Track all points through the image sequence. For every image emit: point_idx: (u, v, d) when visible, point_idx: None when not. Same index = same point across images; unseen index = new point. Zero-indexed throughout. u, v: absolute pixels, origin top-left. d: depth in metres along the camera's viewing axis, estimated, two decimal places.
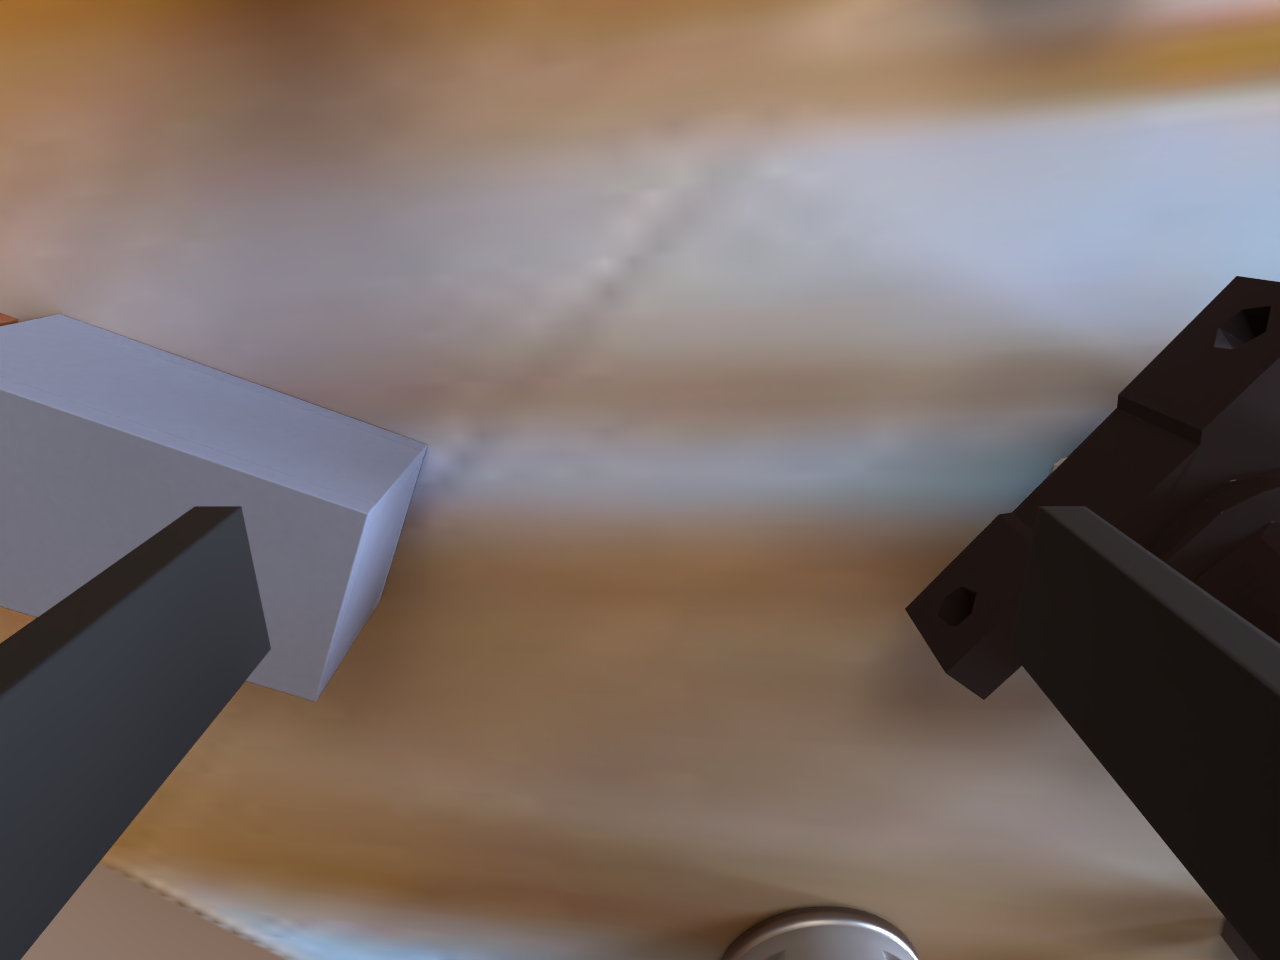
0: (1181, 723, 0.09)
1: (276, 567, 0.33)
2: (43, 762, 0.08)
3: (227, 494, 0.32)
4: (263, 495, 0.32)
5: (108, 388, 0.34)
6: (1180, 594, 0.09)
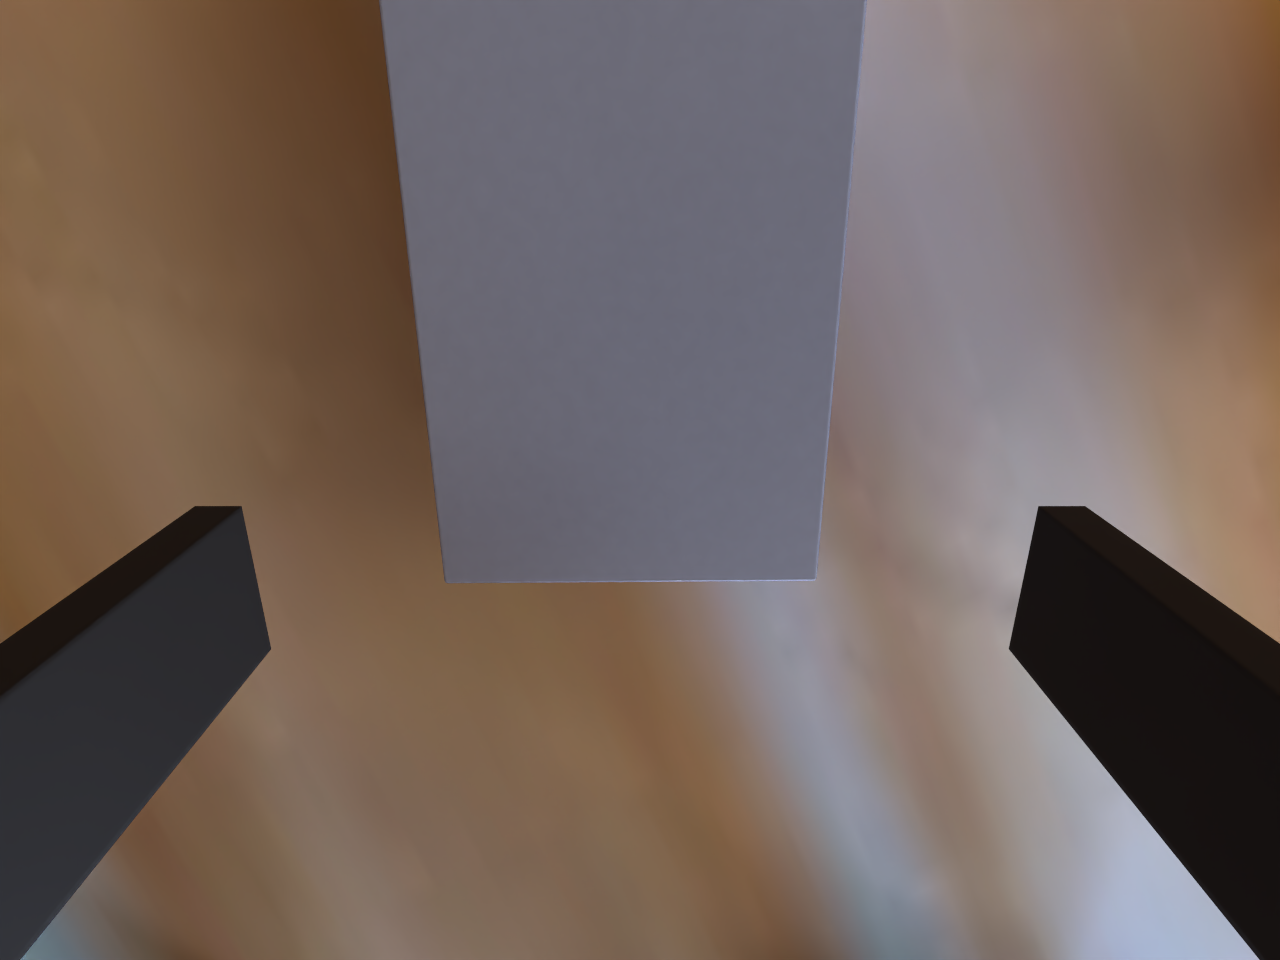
0: (1181, 723, 0.09)
1: (676, 476, 0.20)
2: (43, 762, 0.08)
3: (784, 380, 0.19)
4: (799, 432, 0.20)
5: None
6: (1180, 594, 0.09)
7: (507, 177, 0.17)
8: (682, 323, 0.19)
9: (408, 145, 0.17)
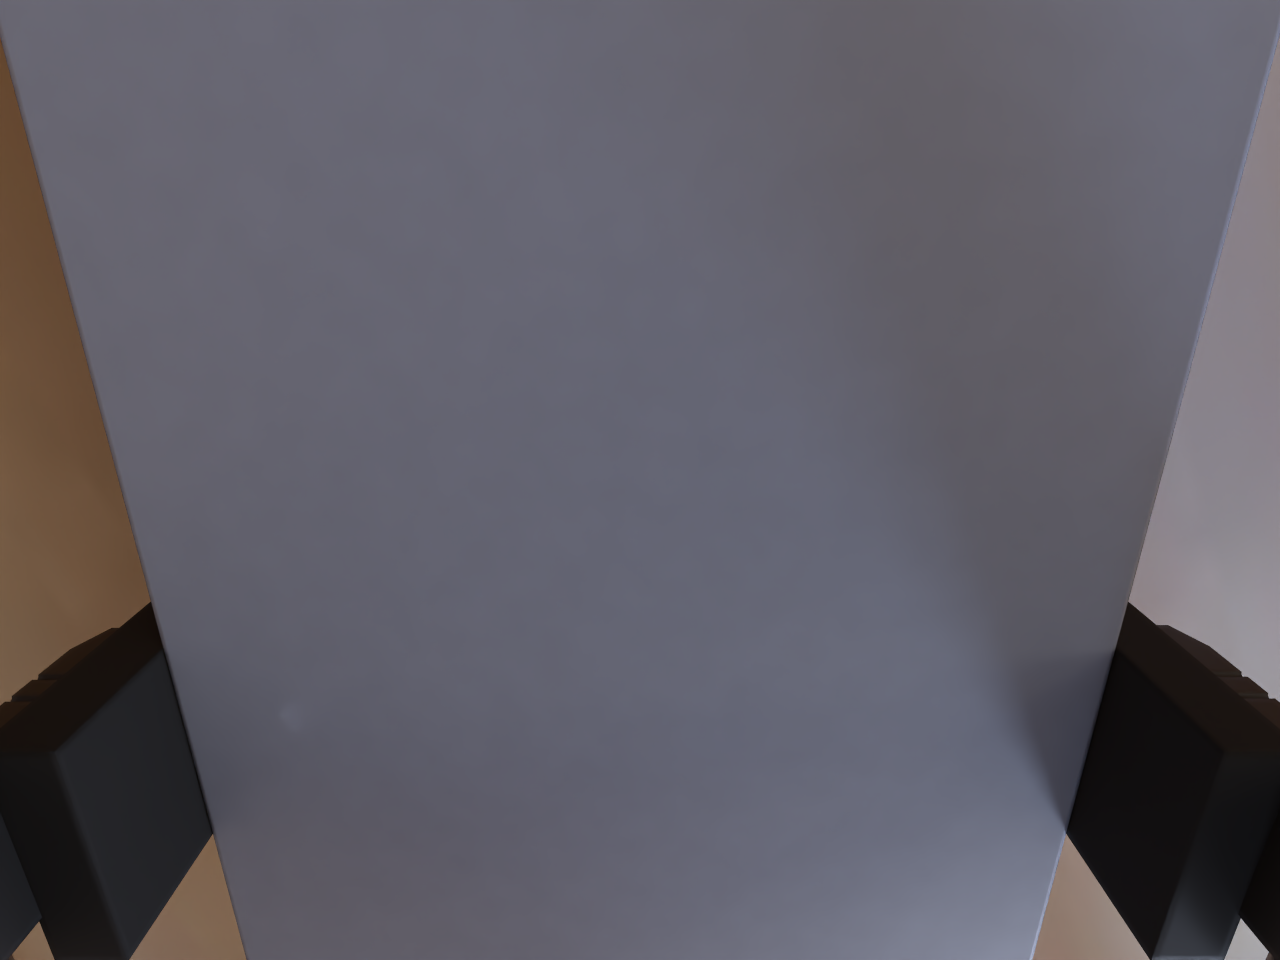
0: None
1: (744, 829, 0.09)
2: None
3: (1002, 647, 0.08)
4: (1022, 750, 0.09)
5: None
6: None
7: (324, 168, 0.07)
8: (773, 525, 0.08)
9: (45, 78, 0.06)
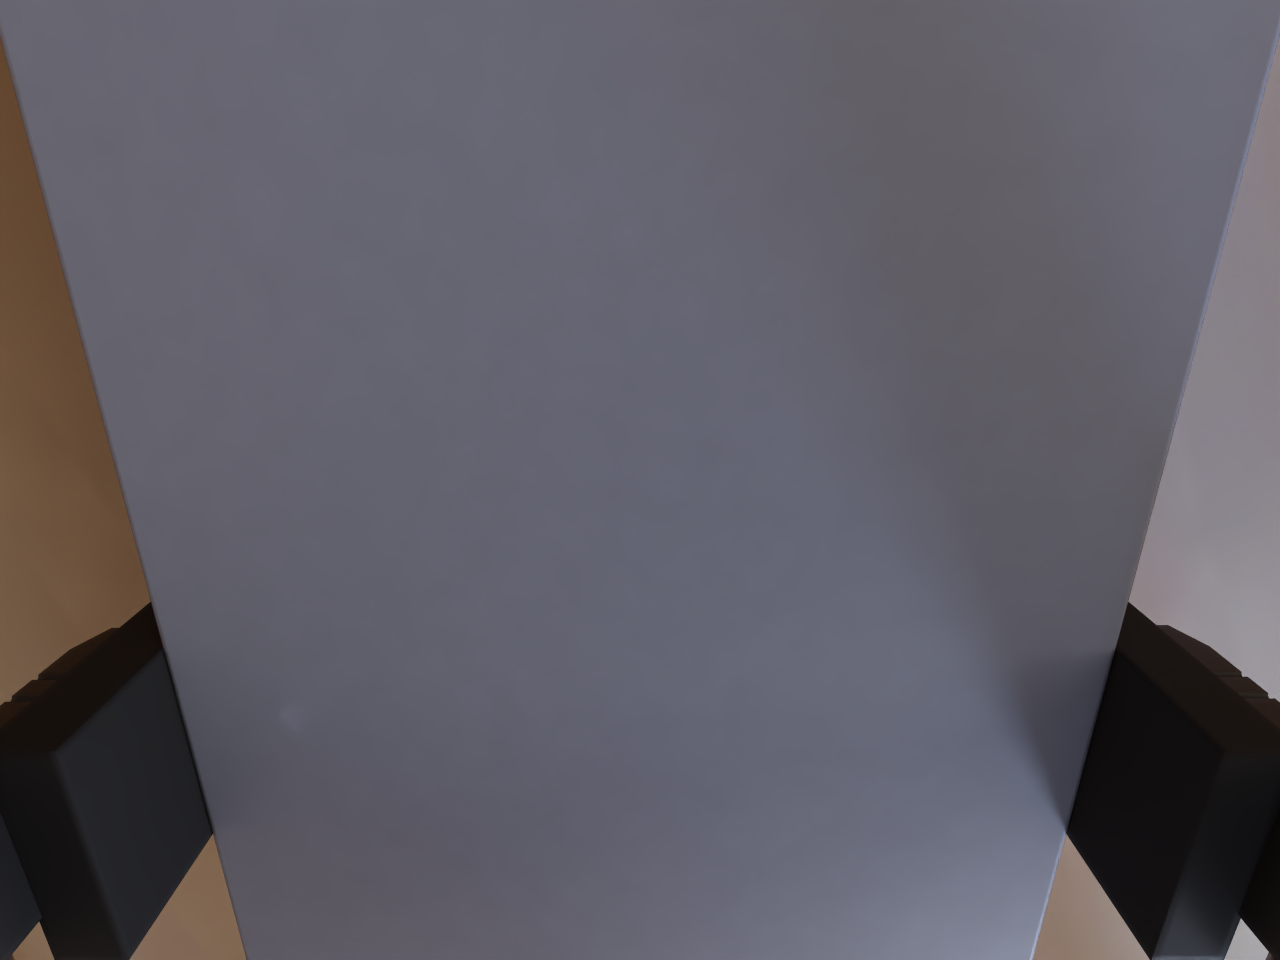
0: None
1: (744, 828, 0.09)
2: None
3: (1003, 647, 0.08)
4: (1024, 750, 0.09)
5: None
6: None
7: (323, 168, 0.07)
8: (773, 525, 0.08)
9: (45, 77, 0.06)
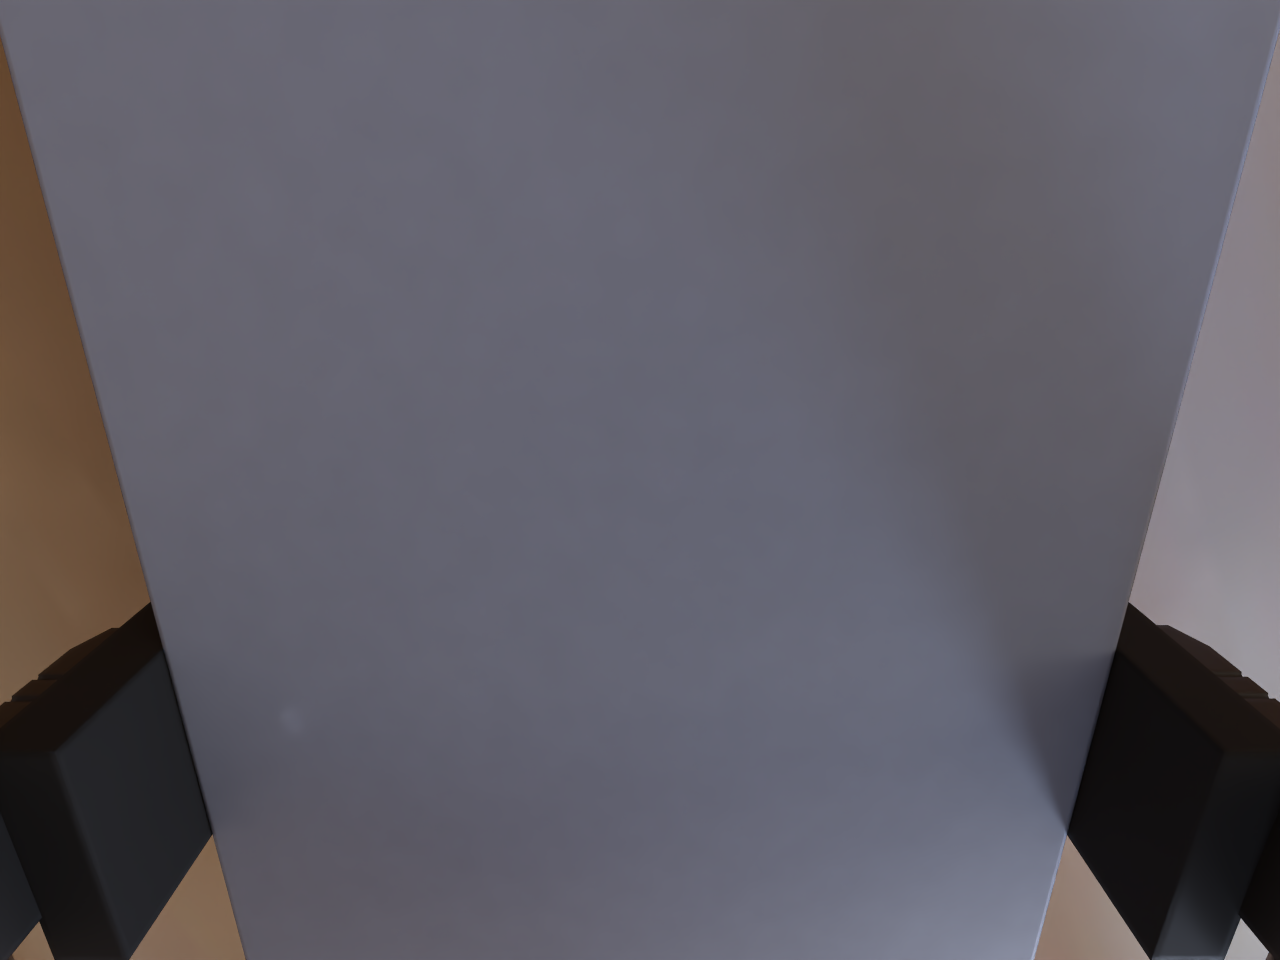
0: None
1: (744, 828, 0.09)
2: None
3: (1003, 646, 0.08)
4: (1023, 749, 0.09)
5: None
6: None
7: (323, 166, 0.07)
8: (773, 523, 0.08)
9: (45, 76, 0.06)
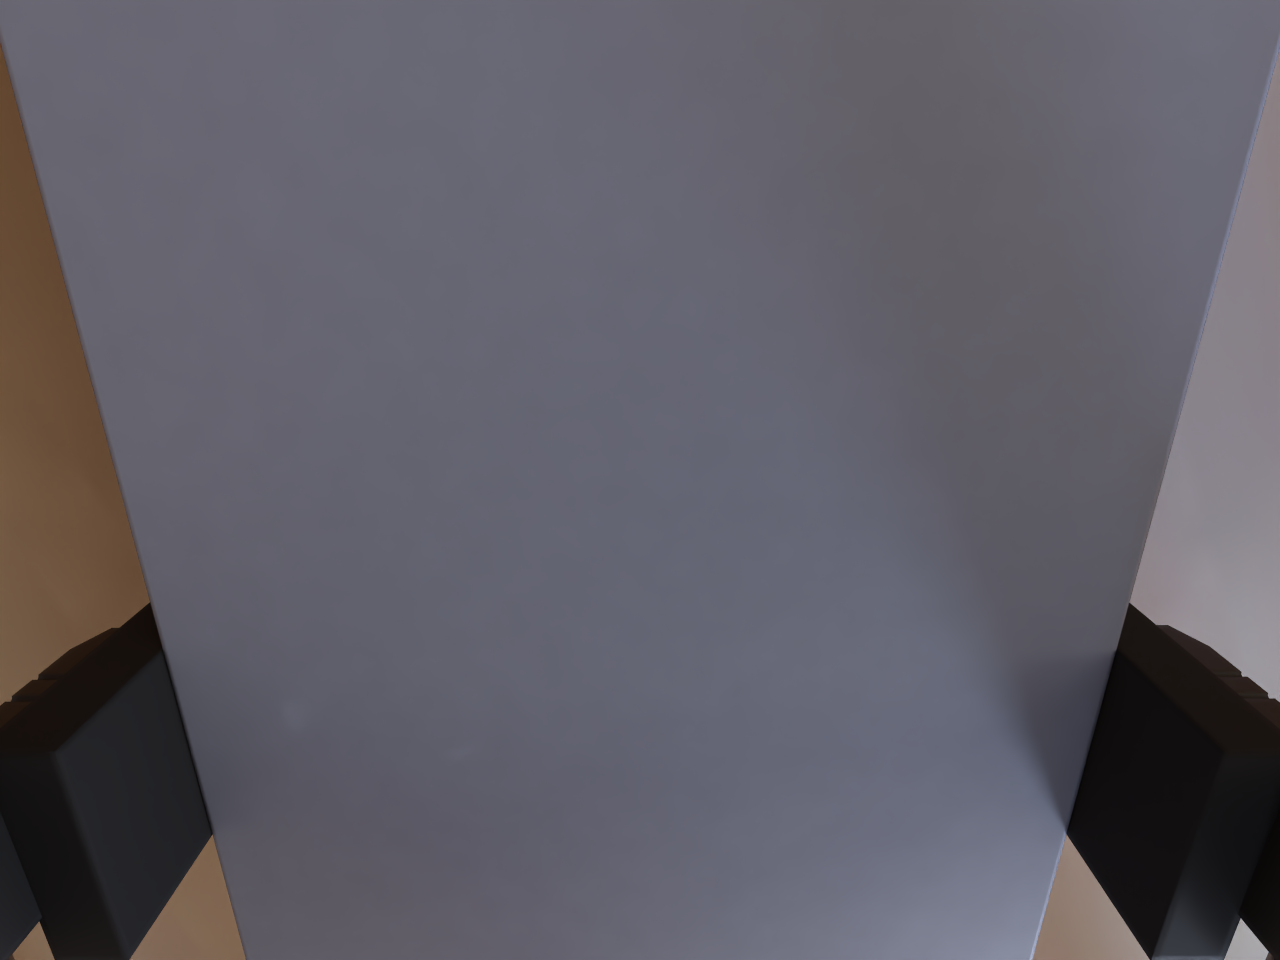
0: None
1: (744, 829, 0.09)
2: None
3: (1003, 647, 0.08)
4: (1023, 750, 0.09)
5: None
6: None
7: (323, 166, 0.07)
8: (773, 525, 0.08)
9: (43, 75, 0.06)
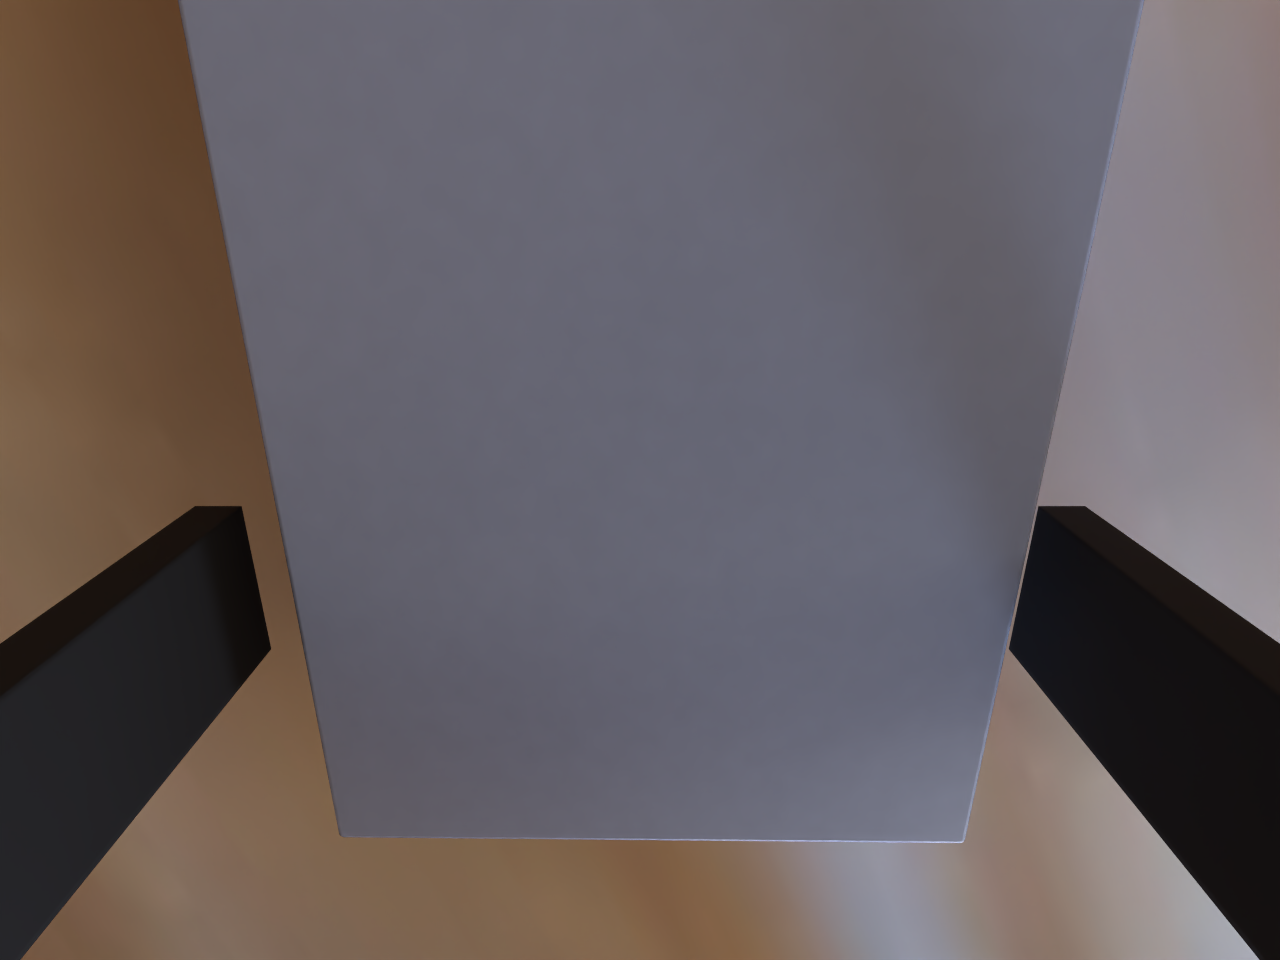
0: (1181, 724, 0.09)
1: (736, 684, 0.11)
2: (43, 762, 0.08)
3: (940, 530, 0.10)
4: (959, 618, 0.11)
5: None
6: (1180, 594, 0.09)
7: (421, 148, 0.09)
8: (758, 429, 0.10)
9: (219, 81, 0.09)
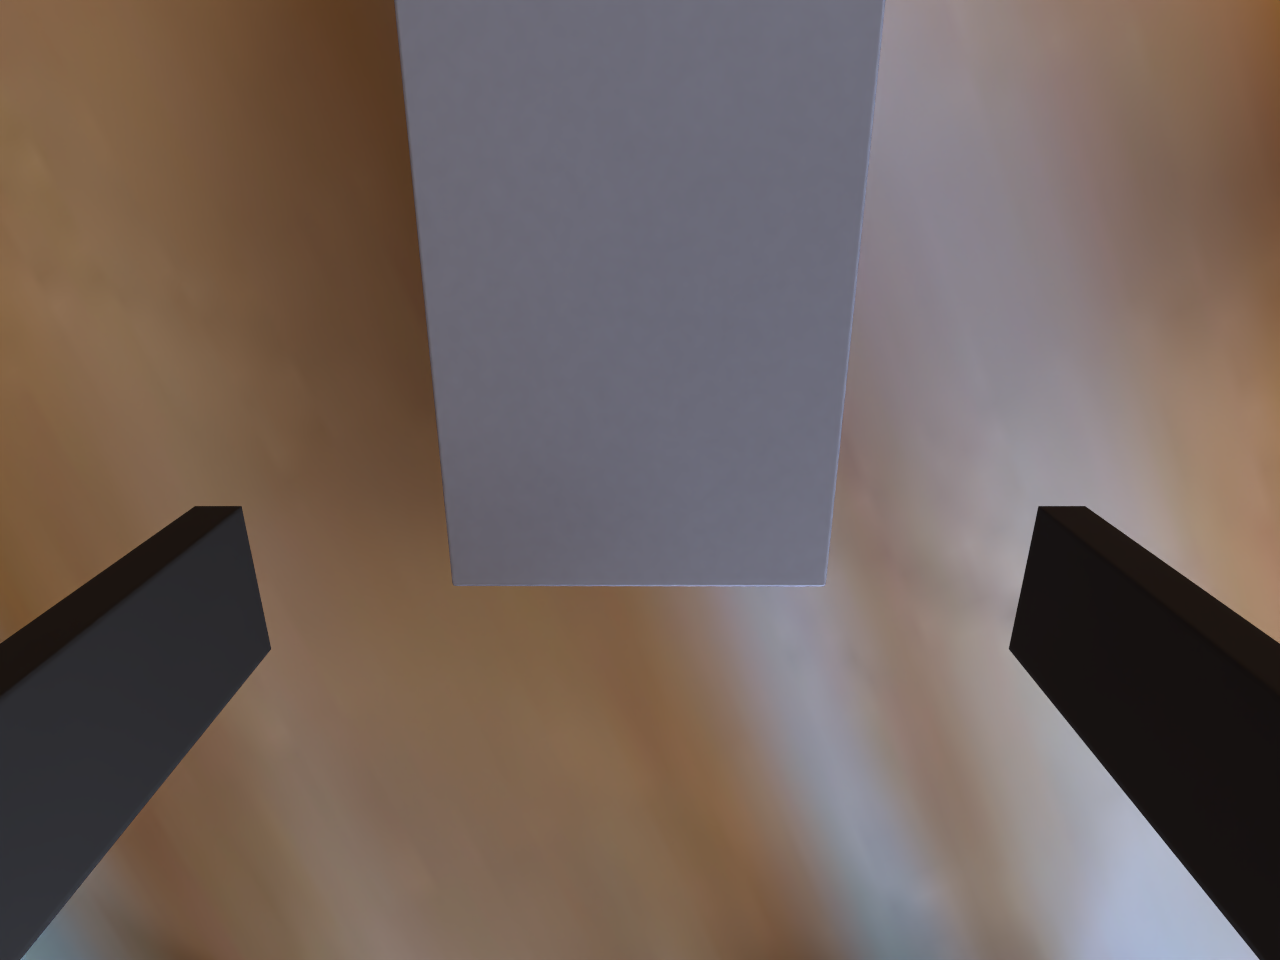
0: (1181, 724, 0.09)
1: (687, 481, 0.20)
2: (43, 762, 0.08)
3: (796, 385, 0.19)
4: (811, 438, 0.20)
5: None
6: (1180, 594, 0.09)
7: (521, 179, 0.17)
8: (695, 327, 0.19)
9: (422, 146, 0.17)
